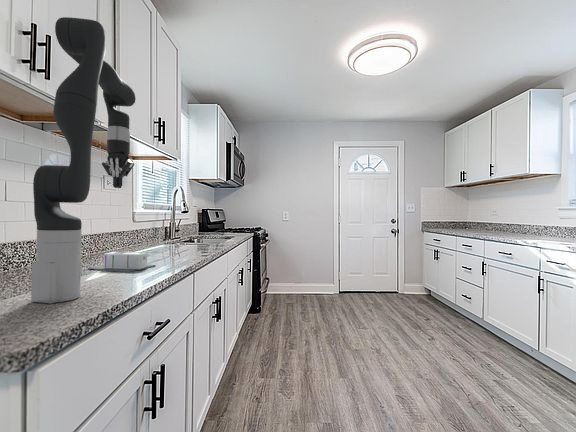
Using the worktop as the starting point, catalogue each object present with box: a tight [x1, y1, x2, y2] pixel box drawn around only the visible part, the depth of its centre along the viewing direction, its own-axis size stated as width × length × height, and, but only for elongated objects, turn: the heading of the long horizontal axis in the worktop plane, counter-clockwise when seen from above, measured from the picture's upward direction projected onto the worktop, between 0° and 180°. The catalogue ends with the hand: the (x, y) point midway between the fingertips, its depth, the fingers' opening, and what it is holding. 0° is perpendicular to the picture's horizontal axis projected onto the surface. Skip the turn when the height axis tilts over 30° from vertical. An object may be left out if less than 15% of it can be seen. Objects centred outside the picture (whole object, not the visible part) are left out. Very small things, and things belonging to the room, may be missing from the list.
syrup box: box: [102, 251, 148, 270], centre depth 129 cm, size 6×6×14 cm
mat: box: [87, 263, 156, 273], centre depth 132 cm, size 16×18×1 cm
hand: (117, 187), depth 122 cm, fingers closed
